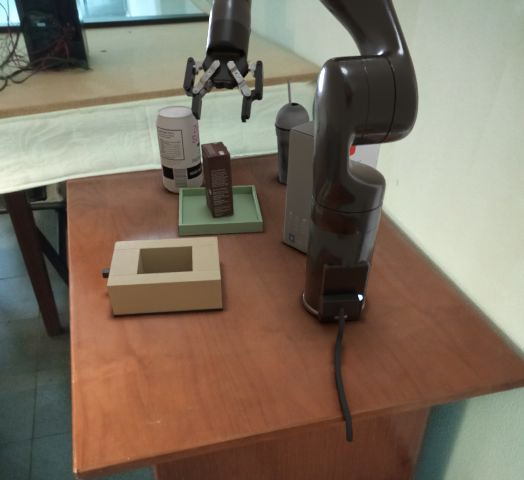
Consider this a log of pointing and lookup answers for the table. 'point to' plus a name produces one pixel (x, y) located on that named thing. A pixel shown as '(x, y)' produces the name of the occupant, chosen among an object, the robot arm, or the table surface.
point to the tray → (202, 222)
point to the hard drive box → (309, 181)
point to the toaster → (164, 276)
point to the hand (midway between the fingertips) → (220, 119)
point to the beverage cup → (287, 131)
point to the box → (218, 179)
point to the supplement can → (179, 148)
